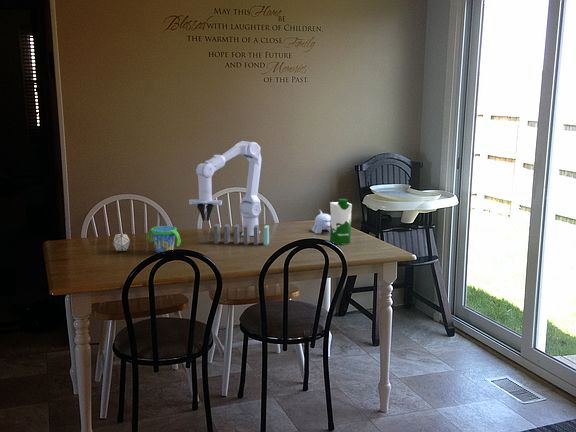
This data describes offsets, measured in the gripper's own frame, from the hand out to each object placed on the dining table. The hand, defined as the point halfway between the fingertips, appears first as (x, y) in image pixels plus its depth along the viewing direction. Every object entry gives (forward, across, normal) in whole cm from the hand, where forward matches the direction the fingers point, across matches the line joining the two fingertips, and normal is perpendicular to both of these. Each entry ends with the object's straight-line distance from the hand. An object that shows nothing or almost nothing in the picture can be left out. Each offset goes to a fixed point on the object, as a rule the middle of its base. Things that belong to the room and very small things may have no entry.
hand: (205, 220), depth 281 cm
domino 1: (+10, +5, 0) cm, 11 cm away
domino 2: (+10, +10, 0) cm, 14 cm away
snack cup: (+10, -13, -20) cm, 26 cm away
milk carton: (+10, +60, +8) cm, 61 cm away
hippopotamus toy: (+10, +52, +29) cm, 60 cm away
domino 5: (+10, +23, 0) cm, 25 cm away
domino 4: (+10, +18, 0) cm, 21 cm away
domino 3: (+10, +14, 0) cm, 17 cm away
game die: (+10, -31, -22) cm, 39 cm away
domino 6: (+10, +28, 0) cm, 29 cm away
